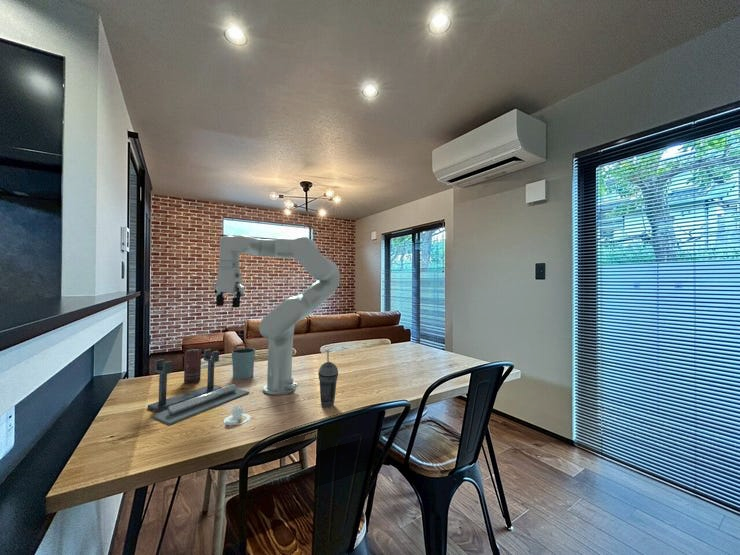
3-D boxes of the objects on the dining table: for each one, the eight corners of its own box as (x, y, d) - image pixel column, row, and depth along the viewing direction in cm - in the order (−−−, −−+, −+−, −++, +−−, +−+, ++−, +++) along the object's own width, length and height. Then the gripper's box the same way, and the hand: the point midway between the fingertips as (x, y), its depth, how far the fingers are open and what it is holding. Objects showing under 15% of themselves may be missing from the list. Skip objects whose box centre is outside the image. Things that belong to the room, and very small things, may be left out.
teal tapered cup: (249, 380, 134) (249, 353, 134) (226, 379, 134) (227, 352, 134) (257, 373, 144) (258, 348, 144) (236, 372, 144) (237, 347, 144)
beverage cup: (320, 411, 104) (322, 353, 104) (314, 403, 111) (316, 348, 111) (340, 407, 107) (342, 351, 108) (333, 400, 114) (334, 347, 114)
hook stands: (222, 389, 121) (223, 350, 121) (157, 412, 100) (159, 364, 100) (212, 387, 124) (213, 348, 124) (147, 408, 103) (149, 361, 103)
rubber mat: (249, 393, 119) (249, 391, 119) (169, 424, 92) (169, 423, 92) (231, 388, 123) (231, 387, 123) (151, 417, 96) (151, 415, 96)
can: (193, 384, 126) (194, 351, 126) (180, 383, 128) (181, 350, 128) (204, 380, 132) (205, 348, 132) (191, 378, 134) (192, 347, 134)
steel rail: (231, 391, 119) (231, 383, 119) (236, 392, 118) (236, 384, 118) (167, 414, 97) (167, 405, 98) (173, 416, 96) (173, 406, 96)
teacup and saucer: (230, 430, 90) (231, 416, 91) (215, 422, 95) (216, 409, 95) (255, 419, 98) (256, 406, 98) (240, 413, 102) (241, 400, 102)
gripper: (251, 266, 126) (250, 307, 126) (222, 266, 133) (221, 304, 133) (236, 265, 119) (234, 308, 119) (207, 265, 127) (205, 305, 126)
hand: (227, 306), depth 126 cm, fingers open, 9 cm apart
